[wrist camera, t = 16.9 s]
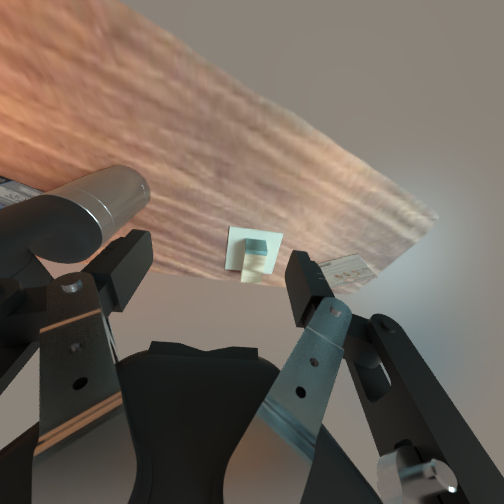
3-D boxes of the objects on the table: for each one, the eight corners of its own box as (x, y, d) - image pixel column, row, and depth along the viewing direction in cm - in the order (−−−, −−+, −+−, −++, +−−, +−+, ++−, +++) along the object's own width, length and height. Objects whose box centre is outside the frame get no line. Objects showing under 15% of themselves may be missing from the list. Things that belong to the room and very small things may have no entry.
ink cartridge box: (358, 259, 54) (378, 284, 46) (317, 270, 56) (329, 296, 48) (358, 252, 53) (378, 277, 45) (316, 263, 55) (328, 289, 47)
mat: (225, 268, 55) (224, 269, 54) (229, 226, 47) (229, 226, 47) (271, 273, 56) (271, 274, 56) (283, 233, 49) (283, 233, 49)
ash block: (258, 271, 55) (265, 240, 49) (260, 283, 51) (267, 251, 45) (240, 269, 54) (245, 238, 49) (240, 282, 50) (245, 249, 45)
